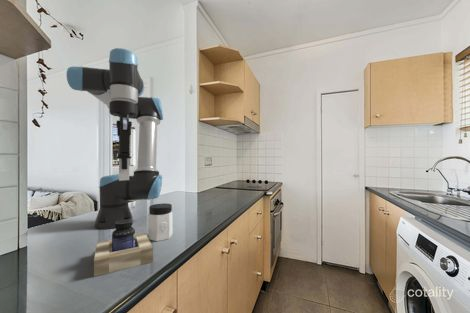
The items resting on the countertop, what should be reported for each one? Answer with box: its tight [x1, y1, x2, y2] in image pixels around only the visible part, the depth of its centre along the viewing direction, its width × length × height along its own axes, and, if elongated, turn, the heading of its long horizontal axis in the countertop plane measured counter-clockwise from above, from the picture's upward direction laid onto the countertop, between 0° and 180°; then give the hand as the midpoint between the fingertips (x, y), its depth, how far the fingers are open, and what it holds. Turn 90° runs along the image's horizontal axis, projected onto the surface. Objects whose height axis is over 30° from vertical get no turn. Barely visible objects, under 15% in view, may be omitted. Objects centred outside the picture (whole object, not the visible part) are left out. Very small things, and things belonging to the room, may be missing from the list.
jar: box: [147, 203, 174, 242], centre depth 78 cm, size 9×8×12 cm
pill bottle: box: [111, 220, 136, 252], centre depth 61 cm, size 6×6×11 cm
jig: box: [93, 233, 154, 278], centre depth 62 cm, size 16×14×4 cm
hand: (124, 180), depth 62 cm, fingers closed
